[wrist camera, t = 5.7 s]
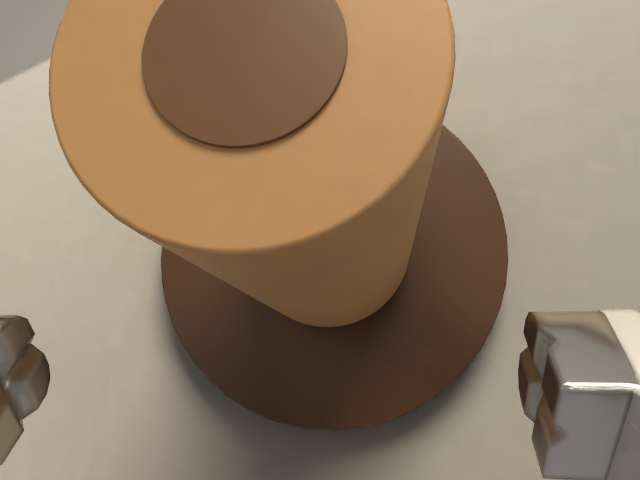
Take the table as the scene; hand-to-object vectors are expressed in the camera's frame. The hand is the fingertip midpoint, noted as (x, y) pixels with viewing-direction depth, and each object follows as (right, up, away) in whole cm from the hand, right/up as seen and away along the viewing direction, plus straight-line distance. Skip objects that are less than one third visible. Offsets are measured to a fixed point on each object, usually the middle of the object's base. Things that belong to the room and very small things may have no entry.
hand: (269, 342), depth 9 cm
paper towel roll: (+1, +2, +13) cm, 13 cm away
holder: (+1, +1, +15) cm, 15 cm away
